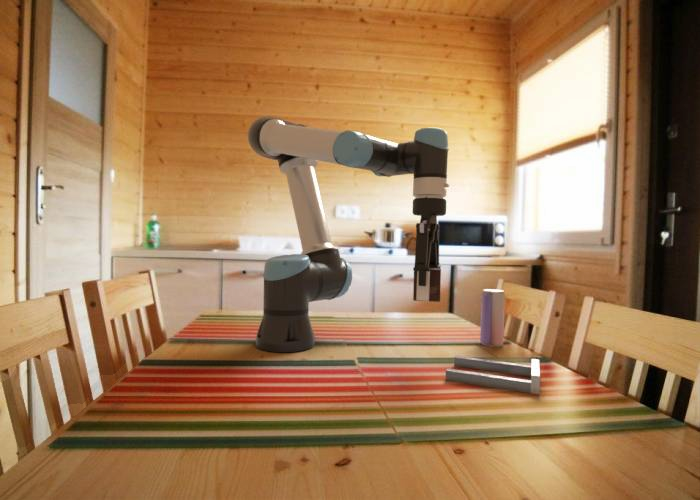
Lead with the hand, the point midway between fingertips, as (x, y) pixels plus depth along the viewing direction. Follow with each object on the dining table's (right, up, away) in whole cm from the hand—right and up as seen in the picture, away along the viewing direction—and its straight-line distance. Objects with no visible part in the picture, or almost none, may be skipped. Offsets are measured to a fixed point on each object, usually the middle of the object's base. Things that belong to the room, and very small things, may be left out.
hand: (426, 298), depth 98 cm
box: (0, -1, 0) cm, 1 cm away
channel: (+12, -16, -9) cm, 21 cm away
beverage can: (+21, -15, +19) cm, 32 cm away
